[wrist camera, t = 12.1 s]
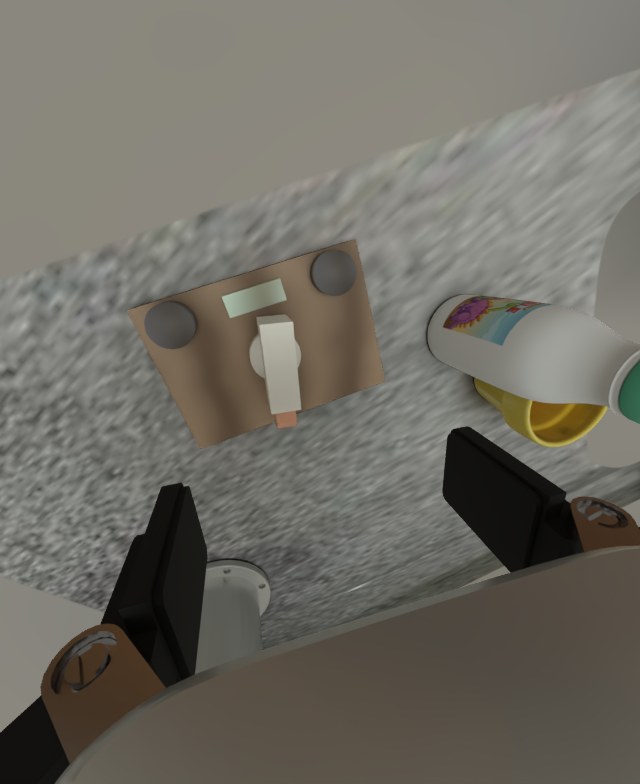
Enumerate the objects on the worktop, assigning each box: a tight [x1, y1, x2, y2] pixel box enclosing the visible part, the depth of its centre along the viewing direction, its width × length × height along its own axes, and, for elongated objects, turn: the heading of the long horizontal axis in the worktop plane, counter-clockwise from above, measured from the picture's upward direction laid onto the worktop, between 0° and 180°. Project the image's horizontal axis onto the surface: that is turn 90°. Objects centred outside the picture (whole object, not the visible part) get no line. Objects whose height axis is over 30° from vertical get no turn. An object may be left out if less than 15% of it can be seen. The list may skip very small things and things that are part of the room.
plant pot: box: [474, 377, 608, 447], centre depth 34 cm, size 10×10×10 cm
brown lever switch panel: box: [127, 239, 385, 449], centre depth 29 cm, size 20×14×4 cm
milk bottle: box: [427, 295, 640, 424], centre depth 26 cm, size 8×8×20 cm
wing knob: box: [249, 314, 301, 429], centre depth 27 cm, size 9×4×6 cm, turn 4°
